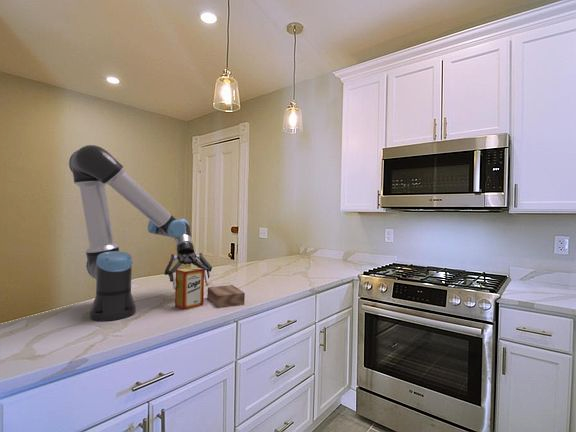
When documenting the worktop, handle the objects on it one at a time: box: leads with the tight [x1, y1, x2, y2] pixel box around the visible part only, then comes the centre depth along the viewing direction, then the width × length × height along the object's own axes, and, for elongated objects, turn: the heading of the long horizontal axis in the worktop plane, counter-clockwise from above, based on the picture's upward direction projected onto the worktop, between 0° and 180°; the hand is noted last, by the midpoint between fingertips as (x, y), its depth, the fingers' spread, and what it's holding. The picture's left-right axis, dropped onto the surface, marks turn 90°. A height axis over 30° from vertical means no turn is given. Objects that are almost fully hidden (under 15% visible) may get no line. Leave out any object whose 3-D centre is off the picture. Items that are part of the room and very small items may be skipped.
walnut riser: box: [206, 284, 246, 309], centre depth 137 cm, size 12×16×5 cm
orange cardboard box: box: [174, 266, 205, 311], centre depth 129 cm, size 10×6×16 cm
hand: (191, 286), depth 129 cm, fingers open, 13 cm apart
